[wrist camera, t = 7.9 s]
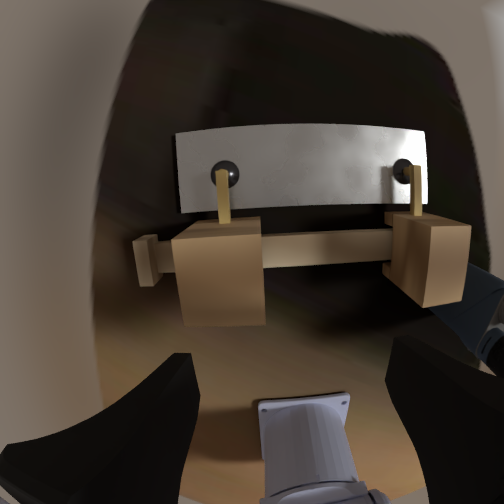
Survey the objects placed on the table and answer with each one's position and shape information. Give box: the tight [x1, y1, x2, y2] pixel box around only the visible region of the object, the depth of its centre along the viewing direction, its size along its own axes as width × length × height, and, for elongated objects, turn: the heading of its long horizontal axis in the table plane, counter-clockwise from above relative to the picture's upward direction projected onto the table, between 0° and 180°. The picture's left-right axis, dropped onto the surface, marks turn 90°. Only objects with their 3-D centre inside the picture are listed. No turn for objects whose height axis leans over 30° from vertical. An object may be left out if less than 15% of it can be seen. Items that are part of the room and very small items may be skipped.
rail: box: [132, 228, 393, 286], centre depth 18 cm, size 3×22×2 cm, turn 94°
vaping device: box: [428, 263, 504, 378], centre depth 13 cm, size 3×5×12 cm, turn 162°
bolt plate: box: [176, 124, 427, 213], centre depth 17 cm, size 5×17×1 cm, turn 94°
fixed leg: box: [382, 165, 471, 308], centre depth 15 cm, size 8×3×6 cm, turn 4°
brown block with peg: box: [171, 169, 266, 327], centre depth 15 cm, size 8×4×6 cm, turn 4°
